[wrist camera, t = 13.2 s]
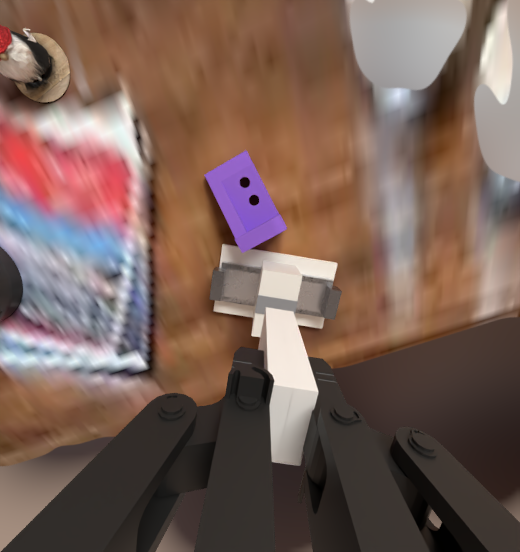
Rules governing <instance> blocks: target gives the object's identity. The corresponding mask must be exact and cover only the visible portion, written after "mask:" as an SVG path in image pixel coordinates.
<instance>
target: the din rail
mask: <svg viewBox="0 0 520 552" xmlns="http://www.w3.org/2000/svg"><path fill="white" fill-rule="evenodd" d="M260 273H261V267H257V266H251V265H245V264H239V263H233V262H227V261H223V262H222V267H221V268H220V267H216V268H215V269H214V270H213V276H212V284H211V291H210V300H216V301H225V302H231V303H237V304H243V305H250V306H255V302H256V296H257V291H258V285H259V279H260ZM301 275H302V281H301V286H300V291H299V295H298V300H297V301H298V303H297V307H296V312H295V313H299V314H305V315H311V316H317V317H324V318H327V319H333V320H335V316H336V312H337V308H338V304H339V300H340V296H341V292H342V291H341V290H340V289H339V288H338V287H335V286H332V284H333V280H332V279H330V278H324V277H318V276H312V275H306V274H301Z"/></svg>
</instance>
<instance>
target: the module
mask: <svg viewBox="0 0 520 552" xmlns="http://www.w3.org/2000/svg"><path fill="white" fill-rule="evenodd" d="M301 281H302V275H301V273H300V272H299V270H298V268H297V267H296V266H295V265H289V264H283V263H277V262H271V261H265V260H263V261H262V267H261V273H260V279H259V285H258V291H257V296H256V302H255V308H254V314H253V323H252V334H251V336H255V337H260V336H261V331H262V325H263V320H264V314H265V309H266V307H268V308H274V309H281V310H287V311H293V312H294V315H295V312H296V307H297V303H298V301H297V300H298V295H299V291H300V286H301Z"/></svg>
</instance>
